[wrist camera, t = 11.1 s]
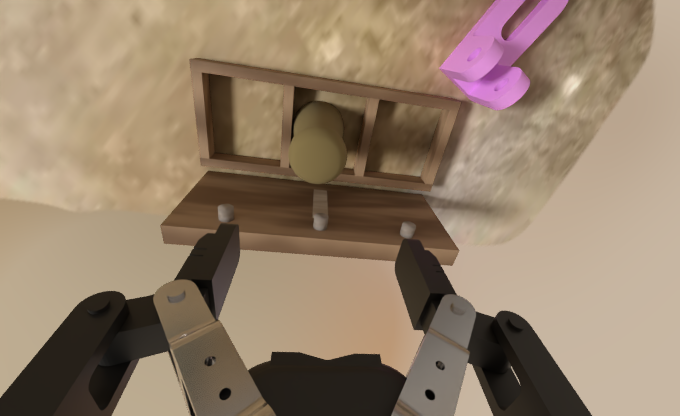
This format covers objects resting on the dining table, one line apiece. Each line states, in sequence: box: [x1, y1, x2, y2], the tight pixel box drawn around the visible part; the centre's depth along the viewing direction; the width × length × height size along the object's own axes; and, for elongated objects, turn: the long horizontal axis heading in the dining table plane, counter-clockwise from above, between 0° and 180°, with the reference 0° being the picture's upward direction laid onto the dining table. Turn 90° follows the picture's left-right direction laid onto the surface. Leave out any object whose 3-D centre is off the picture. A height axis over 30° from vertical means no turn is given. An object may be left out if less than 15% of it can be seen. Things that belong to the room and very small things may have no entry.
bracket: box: [439, 0, 569, 110], centre depth 26 cm, size 13×6×7 cm, turn 143°
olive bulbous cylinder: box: [288, 101, 347, 184], centre depth 28 cm, size 6×6×11 cm
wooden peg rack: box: [161, 58, 461, 266], centre depth 29 cm, size 14×28×12 cm, turn 81°
